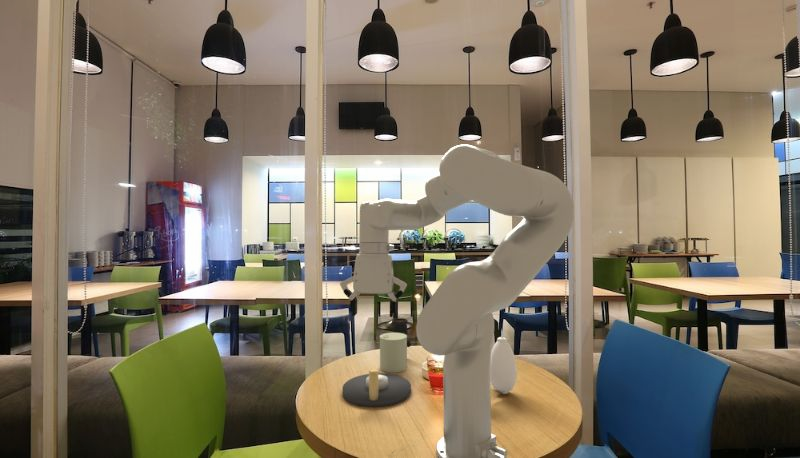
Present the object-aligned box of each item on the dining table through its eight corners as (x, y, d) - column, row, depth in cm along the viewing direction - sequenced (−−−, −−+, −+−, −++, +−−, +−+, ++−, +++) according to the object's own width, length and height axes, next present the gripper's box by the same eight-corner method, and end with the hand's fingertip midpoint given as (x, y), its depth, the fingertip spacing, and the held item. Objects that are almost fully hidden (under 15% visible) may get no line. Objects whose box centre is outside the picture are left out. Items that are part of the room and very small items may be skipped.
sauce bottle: (517, 400, 100) (516, 333, 100) (487, 396, 102) (486, 331, 102) (517, 389, 107) (516, 326, 107) (489, 385, 109) (489, 324, 110)
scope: (387, 316, 141) (412, 317, 138) (387, 353, 140) (413, 355, 138) (381, 321, 133) (408, 322, 130) (381, 360, 133) (408, 362, 130)
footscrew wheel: (425, 391, 103) (425, 360, 103) (371, 414, 90) (371, 379, 90) (381, 373, 116) (381, 346, 117) (329, 390, 104) (329, 360, 104)
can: (375, 368, 124) (375, 332, 124) (400, 364, 128) (400, 329, 128) (386, 378, 116) (385, 339, 116) (412, 373, 120) (412, 336, 120)
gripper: (408, 249, 99) (407, 313, 99) (344, 247, 100) (343, 311, 100) (406, 250, 91) (405, 320, 91) (337, 249, 93) (336, 317, 93)
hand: (373, 315), depth 96 cm, fingers open, 9 cm apart
